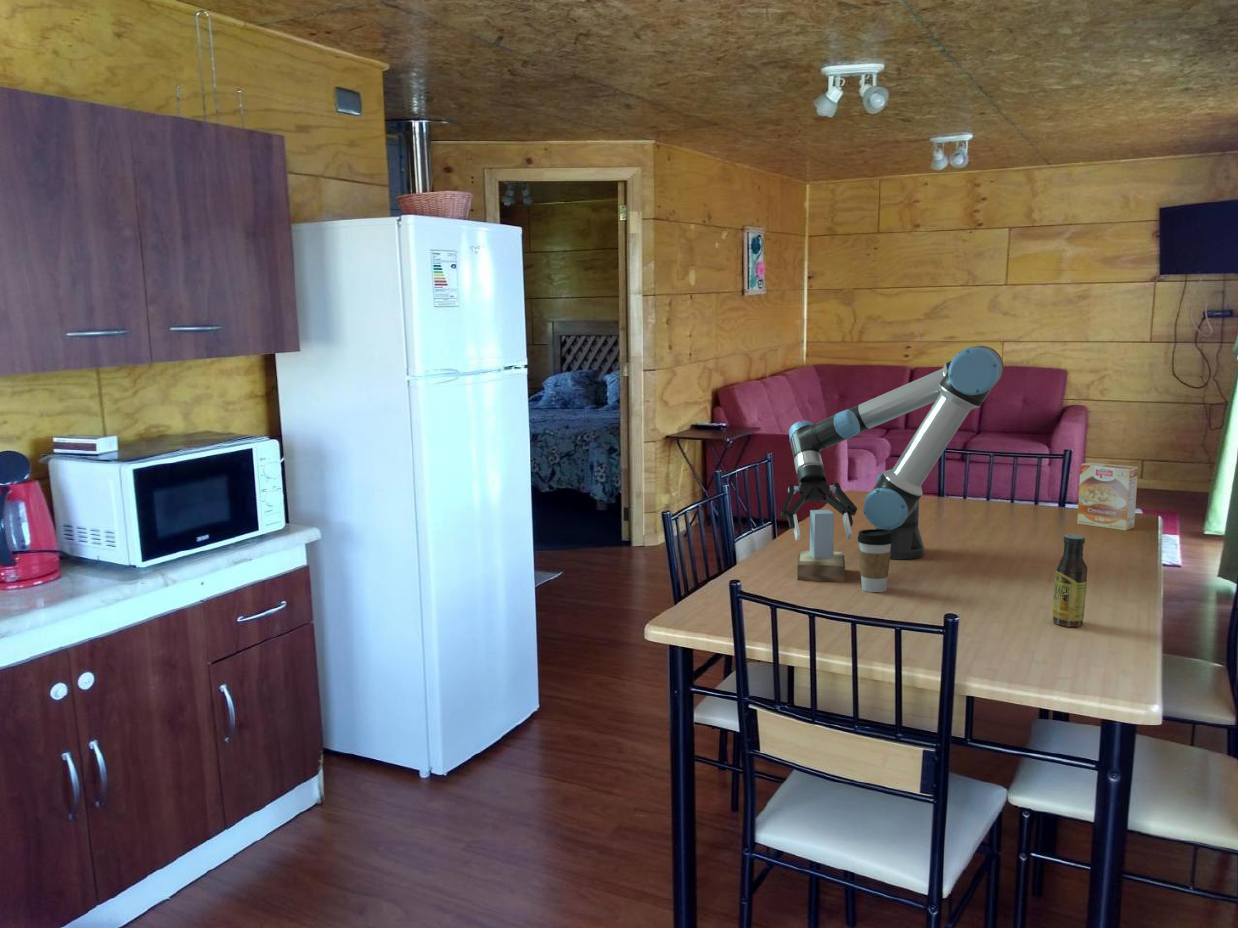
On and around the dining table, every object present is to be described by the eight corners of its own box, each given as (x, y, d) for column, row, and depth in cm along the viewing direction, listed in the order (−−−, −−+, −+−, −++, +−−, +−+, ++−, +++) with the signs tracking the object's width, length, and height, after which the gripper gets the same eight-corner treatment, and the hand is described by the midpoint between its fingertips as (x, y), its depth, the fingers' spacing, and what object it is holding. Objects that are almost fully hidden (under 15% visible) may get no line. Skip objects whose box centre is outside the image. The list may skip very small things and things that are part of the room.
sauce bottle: (1046, 620, 207) (1050, 532, 204) (1073, 618, 207) (1078, 531, 204) (1062, 629, 200) (1067, 539, 197) (1090, 628, 201) (1095, 538, 198)
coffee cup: (893, 594, 228) (894, 535, 225) (857, 593, 229) (858, 534, 227) (890, 585, 236) (891, 527, 234) (855, 584, 238) (856, 526, 235)
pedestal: (843, 569, 252) (844, 551, 251) (844, 581, 240) (845, 562, 239) (798, 567, 254) (798, 550, 253) (797, 579, 243) (797, 561, 242)
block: (828, 553, 249) (828, 509, 247) (833, 558, 244) (833, 513, 242) (809, 554, 249) (810, 510, 247) (814, 558, 244) (814, 513, 242)
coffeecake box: (1076, 524, 300) (1079, 464, 297) (1085, 520, 304) (1088, 461, 301) (1126, 531, 289) (1130, 468, 286) (1134, 527, 293) (1138, 466, 290)
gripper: (852, 478, 259) (867, 543, 247) (763, 480, 258) (774, 546, 246) (858, 461, 253) (874, 527, 241) (767, 464, 252) (778, 530, 240)
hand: (823, 537), depth 243 cm, fingers open, 13 cm apart
